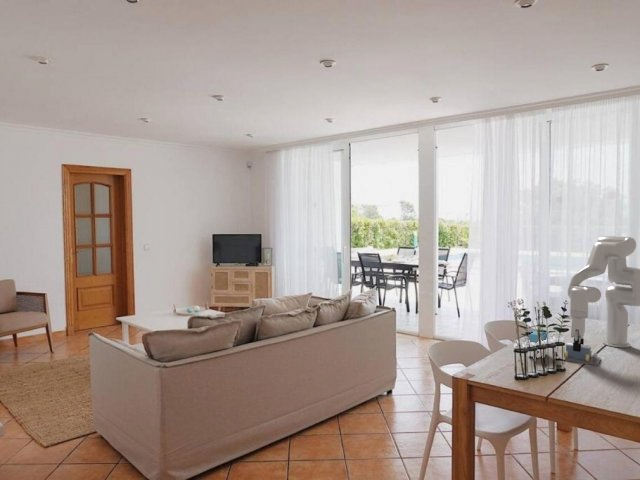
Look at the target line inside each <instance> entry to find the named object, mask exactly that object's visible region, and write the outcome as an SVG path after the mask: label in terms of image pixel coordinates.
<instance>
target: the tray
mask: <svg viewBox="0 0 640 480" xmlns="http://www.w3.org/2000/svg"><path fill="white" fill-rule="evenodd" d="M592 352H593V351H592V350H591V355H590V360H589V355H588V354H586V356H585V359H579V358H573V357H568V352H567V351H566V350H564V357H565V361H566V362H571V363H576V362H578V364H582V363H583V365H591V366H596V367H598V366H599V365H600V362H601V359H602V357H601V356H598V353H597V352H594V353H592Z"/></svg>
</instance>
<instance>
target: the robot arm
mask: <svg viewBox="0 0 640 480" xmlns="http://www.w3.org/2000/svg"><path fill="white" fill-rule="evenodd" d="M636 248H637V242H636V240H635V238H633V237H631V236H615V235H614V236H613V235H611V236H610V235H609V236H608V235H607V236H605V235H603V236H600V237H598V238H597V242H595V243H594V244H593V247H592V249H591V251H590V255H589V257H588V259H587V263H586V266H584V267H583V268H581V269H580V270H579V271H577V272H576V273H575V274H574V275H573V276H572V278H571V280H570V283H569V284H568V287H567V295H568V296H567V297H568V298H569V299H570V301H569V303H570V305H569V307H570V310H569V317H570V318H571V325H570V328H571V329H570V330H571V331H570V338H573V341H572V343H573V351H577V352H580V351H581V344H582V345H585V343H584V342H585V341H584V339H585V338H584V337H585V335H586V334H585V332H586V319H588V318H589V303H592V304H593V303H598V302H599V301H600V300H601V297H602V292H601V290H600V289H599V288H598V287H595V286H587V285H581V284H582V283H583V282H584V281H586V280H588V279H591V278H593V277H594V278H595V277H597V276H601V275H604V273H605V272H606V270H607V277H608V281H609V282H610V283H611V284H615V285H611V286H609V287H607V288H606V290H605V301H606V335H605V337H606V338H605V339H603V340H602V344H604V345H606V346H609V347H613V348H623V349H624V348H630V347H631V343H630V342H628V328H629V327H628V322H629V312H628V310H627V308H626V307H625V306H631V307H640V268H638V267H629V266H628V265H627V257H629V256H630V255H632V254H633V253H635V250H636ZM618 285H619V286H618ZM620 285H621V286H620ZM622 285H623V286H622ZM629 286H630V287H629Z"/></svg>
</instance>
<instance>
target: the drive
mask: <svg viewBox="0 0 640 480" xmlns="http://www.w3.org/2000/svg"><path fill="white" fill-rule="evenodd" d="M591 348H592V347H591V345H590V344H589V345H587V344H584V345H582V344H581V351H580V352H577V351H573V342H566V344H565V351H567V352H568V357H573V358H579V359H585V356H586V354H588V355H589V360H590V355H591V351H592V350H591Z"/></svg>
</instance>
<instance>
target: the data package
mask: <svg viewBox="0 0 640 480" xmlns="http://www.w3.org/2000/svg"><path fill="white" fill-rule="evenodd" d="M532 332H533V333H531V332H530V333H531V334H530V335H529V334H528V336H529V340H530V342H535V343H537V342H538V335H537V332H536V330H534V331H532ZM546 338H547V339H548V337H547V334H546V333H545V332H541V340H542V341H543V340H546ZM538 353H539V351H537V354H538Z"/></svg>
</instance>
